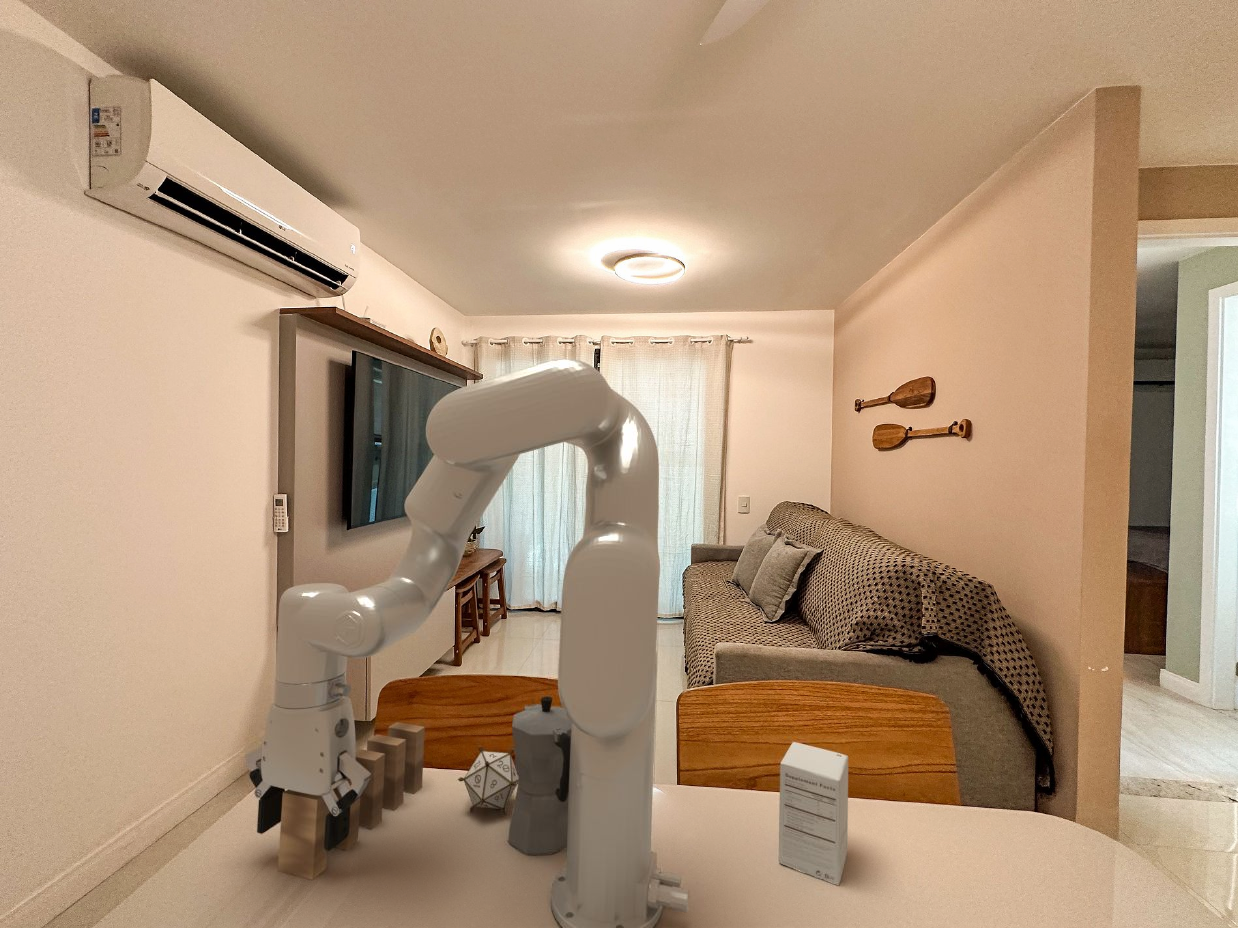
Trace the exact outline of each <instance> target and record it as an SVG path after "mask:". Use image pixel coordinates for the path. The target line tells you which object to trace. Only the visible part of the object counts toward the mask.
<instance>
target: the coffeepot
mask: <svg viewBox="0 0 1238 928" xmlns="http://www.w3.org/2000/svg"><path fill="white" fill-rule="evenodd" d="M552 703H553V697H551V696H542V697H541V698H540V704H538V703H537V704H536V703H534V704H530V705H529V706H528V705H524V710H522V711H519V712H517V713H515V714H513V718H512V724H511V725H512V726H511V729H512V730H511V731H512V739H513V748H514V759H515V761H514V762H515V767H516V771H517V775H518V776H519V780H518V784H517V786H516V792H515V798H514V803H513V807H512V813H511V819H510V824H509V831H508V837H507V842H508V843H509V844H510V845H511V847H513V848H514V849H515V850H517V851H519V853H520V852H521V853H523V854H526V855H530V856H545V855H546V856H547V855H551V854H555V853H558V852H560V851H561V850H563V849H565V848H567V830H568V802H569V774H570V748H571V727H572V722H571V721H570V719H569V718H568V716H567V715H566V713H565V711H564V709H563V707H561V706H552Z"/></svg>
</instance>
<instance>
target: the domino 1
mask: <svg viewBox="0 0 1238 928" xmlns="http://www.w3.org/2000/svg"><path fill="white" fill-rule="evenodd" d="M328 814H329V808H328V806H327V804H326V803H325V801H324V799H323V797H322V796H316V795H311V794H306V793H301V792H297V791H292V790H288V789H285V792H283V797H282V813H281V822H280V831H279V846H278V860H277V861H278V865H277V871H278V872H281V873H285V874H288V875H292V876H295V877H299V878H303V879H306V880H311V881H314V879H315V878H317V877H318V876H319V875H321V873H323V872H324V871H325V870H326V869H327V859H328V858H327V855H328V851H327V850H325V848H324V838H325V819H326V816H327V815H328Z"/></svg>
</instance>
